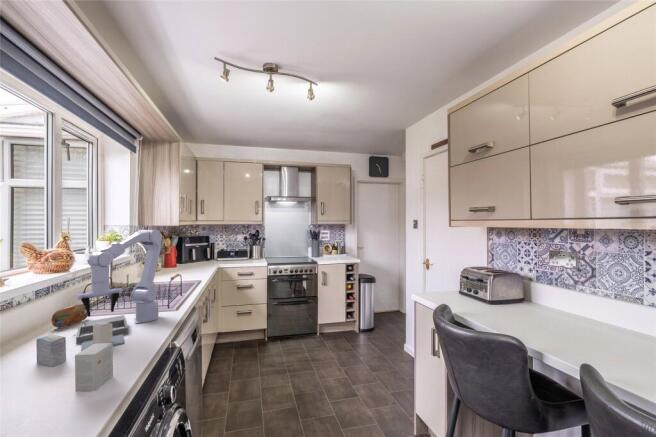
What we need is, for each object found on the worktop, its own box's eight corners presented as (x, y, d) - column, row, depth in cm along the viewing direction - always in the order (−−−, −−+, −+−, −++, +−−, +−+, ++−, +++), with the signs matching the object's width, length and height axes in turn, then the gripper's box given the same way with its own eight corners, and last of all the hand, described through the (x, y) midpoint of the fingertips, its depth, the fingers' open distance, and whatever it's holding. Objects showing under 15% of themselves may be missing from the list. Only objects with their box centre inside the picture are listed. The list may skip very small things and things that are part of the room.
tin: (55, 330, 130) (55, 311, 130) (49, 330, 130) (49, 311, 130) (89, 319, 144) (89, 302, 144) (84, 318, 145) (84, 301, 145)
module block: (104, 338, 118) (104, 320, 118) (112, 341, 115) (112, 323, 115) (93, 342, 115) (92, 323, 115) (100, 345, 112) (100, 326, 112)
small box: (94, 377, 90) (94, 343, 90) (113, 376, 91) (113, 342, 91) (74, 392, 82) (73, 355, 82) (95, 391, 83) (95, 354, 83)
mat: (122, 335, 123) (122, 333, 123) (124, 343, 115) (123, 342, 115) (82, 343, 115) (82, 341, 115) (80, 353, 107) (80, 351, 107)
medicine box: (66, 361, 100) (66, 336, 101) (50, 367, 96) (50, 341, 96) (52, 358, 103) (51, 333, 103) (36, 364, 99) (35, 338, 99)
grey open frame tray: (124, 317, 147) (123, 311, 147) (127, 333, 125) (127, 326, 125) (80, 324, 136) (80, 318, 136) (76, 343, 115) (76, 336, 115)
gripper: (119, 277, 130) (120, 307, 130) (76, 282, 120) (77, 315, 120) (122, 279, 125) (123, 311, 125) (78, 285, 115) (78, 319, 115)
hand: (100, 313), depth 122 cm, fingers open, 7 cm apart
